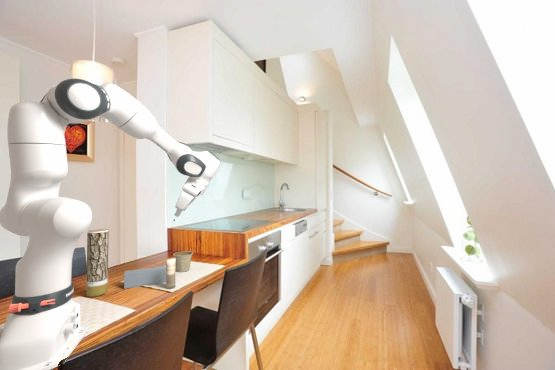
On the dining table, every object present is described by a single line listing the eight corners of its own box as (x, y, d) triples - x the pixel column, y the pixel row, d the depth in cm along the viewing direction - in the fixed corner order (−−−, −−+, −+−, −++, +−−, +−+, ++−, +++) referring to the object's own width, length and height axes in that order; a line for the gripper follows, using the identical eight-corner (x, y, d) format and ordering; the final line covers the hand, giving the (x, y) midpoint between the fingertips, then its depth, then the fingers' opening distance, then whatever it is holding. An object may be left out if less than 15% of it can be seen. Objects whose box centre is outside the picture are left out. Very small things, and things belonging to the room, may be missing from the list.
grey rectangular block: (165, 278, 114) (165, 265, 114) (166, 281, 110) (166, 268, 110) (124, 285, 106) (124, 271, 106) (124, 288, 102) (124, 274, 102)
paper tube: (96, 298, 93) (97, 232, 94) (81, 296, 95) (82, 231, 95) (111, 291, 100) (112, 229, 100) (97, 289, 101) (98, 228, 102)
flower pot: (193, 272, 123) (193, 254, 124) (172, 274, 120) (172, 256, 120) (192, 266, 132) (192, 250, 132) (173, 268, 129) (173, 252, 129)
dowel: (175, 288, 103) (176, 259, 103) (166, 289, 101) (166, 260, 102) (174, 285, 106) (175, 257, 107) (165, 286, 105) (165, 258, 105)
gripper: (194, 179, 117) (180, 203, 118) (182, 186, 97) (165, 215, 98) (206, 186, 118) (192, 210, 119) (196, 194, 98) (179, 223, 99)
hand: (179, 212), depth 108 cm, fingers open, 8 cm apart
